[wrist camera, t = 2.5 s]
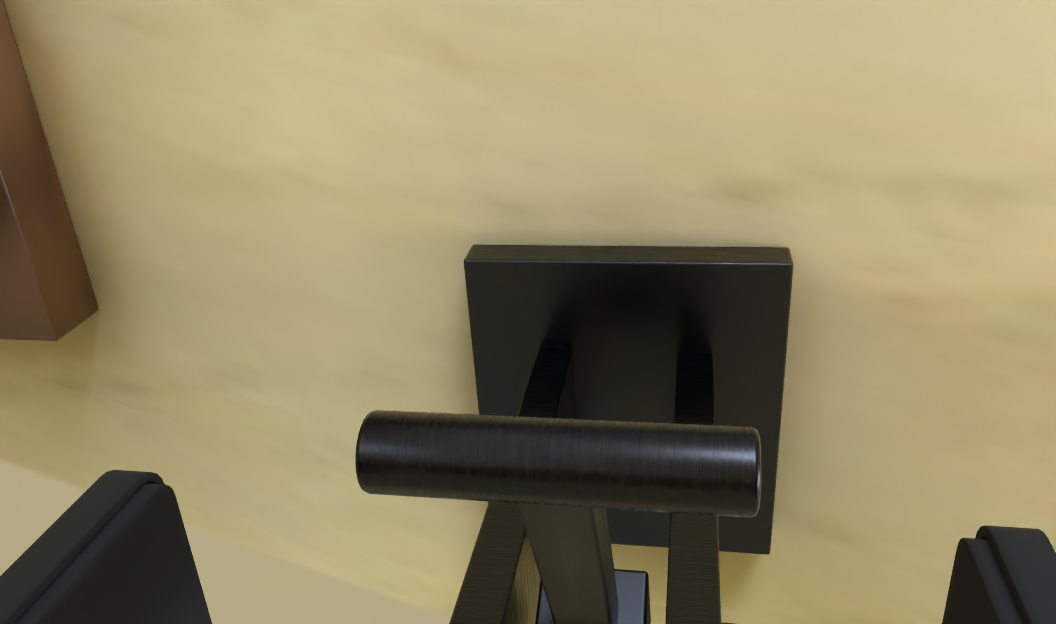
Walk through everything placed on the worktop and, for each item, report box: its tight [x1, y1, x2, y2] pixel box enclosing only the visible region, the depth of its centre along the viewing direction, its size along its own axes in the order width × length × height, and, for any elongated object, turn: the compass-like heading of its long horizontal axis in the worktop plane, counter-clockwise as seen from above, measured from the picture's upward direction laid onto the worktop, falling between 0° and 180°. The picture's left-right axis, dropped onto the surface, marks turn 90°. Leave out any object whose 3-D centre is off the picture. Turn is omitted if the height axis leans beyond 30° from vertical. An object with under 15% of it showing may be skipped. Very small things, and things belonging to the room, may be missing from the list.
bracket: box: [449, 245, 793, 624], centre depth 22 cm, size 10×9×12 cm
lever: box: [356, 410, 762, 624], centre depth 16 cm, size 10×6×2 cm, turn 4°
